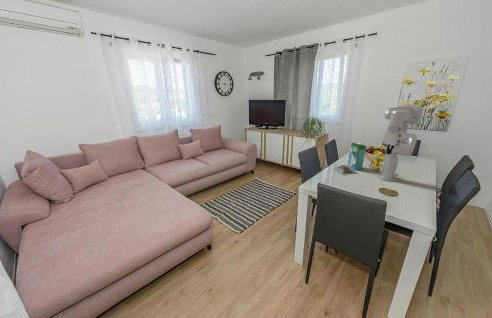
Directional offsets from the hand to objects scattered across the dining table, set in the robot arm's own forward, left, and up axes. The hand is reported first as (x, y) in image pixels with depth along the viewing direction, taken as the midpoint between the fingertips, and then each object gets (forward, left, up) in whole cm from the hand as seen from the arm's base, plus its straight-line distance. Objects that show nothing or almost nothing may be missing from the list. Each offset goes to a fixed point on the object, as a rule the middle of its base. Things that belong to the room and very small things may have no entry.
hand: (388, 153), depth 142 cm
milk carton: (-12, -39, -27) cm, 49 cm away
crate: (+4, -35, -27) cm, 44 cm away
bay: (+4, -33, -27) cm, 43 cm away
